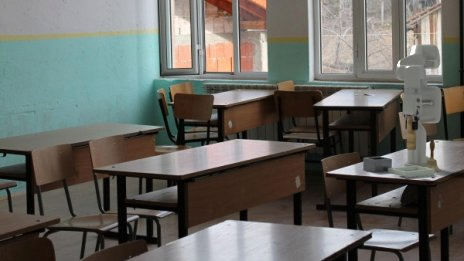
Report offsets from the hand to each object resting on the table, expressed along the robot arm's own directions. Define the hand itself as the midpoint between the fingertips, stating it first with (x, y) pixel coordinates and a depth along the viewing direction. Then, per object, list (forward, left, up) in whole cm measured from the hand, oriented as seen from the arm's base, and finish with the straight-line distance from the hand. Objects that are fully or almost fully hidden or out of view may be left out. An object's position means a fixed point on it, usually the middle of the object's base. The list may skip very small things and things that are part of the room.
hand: (411, 129), depth 420 cm
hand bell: (-17, -6, -23) cm, 29 cm away
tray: (0, 0, -22) cm, 22 cm away
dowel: (0, 0, -10) cm, 10 cm away
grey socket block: (+10, -14, -22) cm, 28 cm away
